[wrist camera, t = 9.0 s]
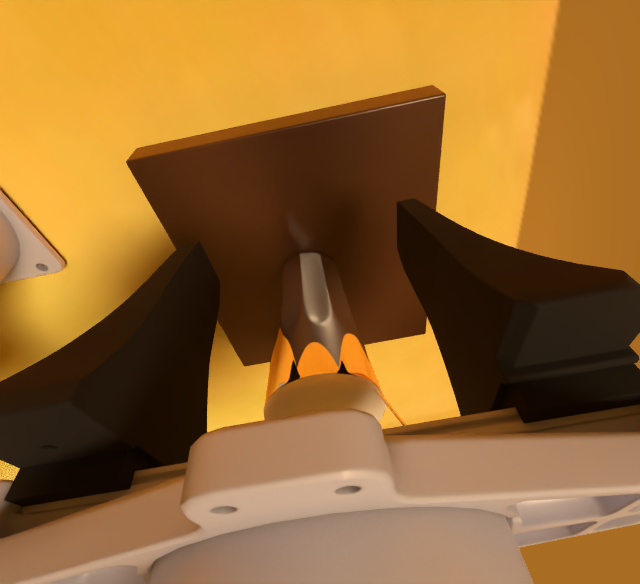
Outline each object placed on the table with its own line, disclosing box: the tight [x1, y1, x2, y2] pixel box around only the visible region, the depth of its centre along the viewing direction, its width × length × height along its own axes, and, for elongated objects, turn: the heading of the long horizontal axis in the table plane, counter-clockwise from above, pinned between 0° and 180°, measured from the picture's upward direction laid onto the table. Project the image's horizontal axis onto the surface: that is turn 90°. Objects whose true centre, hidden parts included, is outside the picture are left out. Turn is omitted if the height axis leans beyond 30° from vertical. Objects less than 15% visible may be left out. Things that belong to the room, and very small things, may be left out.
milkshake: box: [264, 252, 406, 426], centre depth 15 cm, size 4×5×10 cm
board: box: [126, 85, 446, 366], centre depth 19 cm, size 13×15×2 cm
